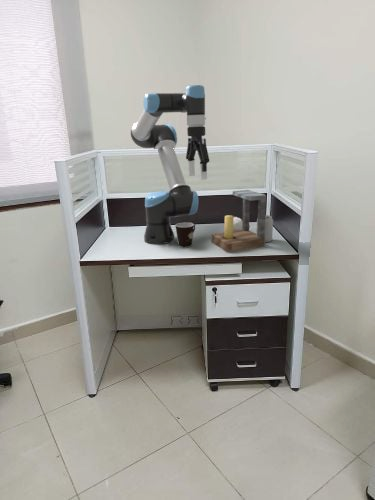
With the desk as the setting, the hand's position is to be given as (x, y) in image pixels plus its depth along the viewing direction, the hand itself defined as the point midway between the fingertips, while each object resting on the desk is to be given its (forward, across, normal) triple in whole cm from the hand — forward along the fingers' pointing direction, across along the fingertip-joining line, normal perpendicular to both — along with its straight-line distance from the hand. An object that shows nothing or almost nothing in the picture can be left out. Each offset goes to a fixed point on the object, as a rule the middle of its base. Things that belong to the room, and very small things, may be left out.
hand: (197, 177), depth 153 cm
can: (+32, -7, -31) cm, 45 cm away
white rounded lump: (+32, +8, -25) cm, 41 cm away
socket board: (+32, -6, -17) cm, 36 cm away
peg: (+32, -6, -12) cm, 35 cm away
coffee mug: (+32, +4, +4) cm, 32 cm away
